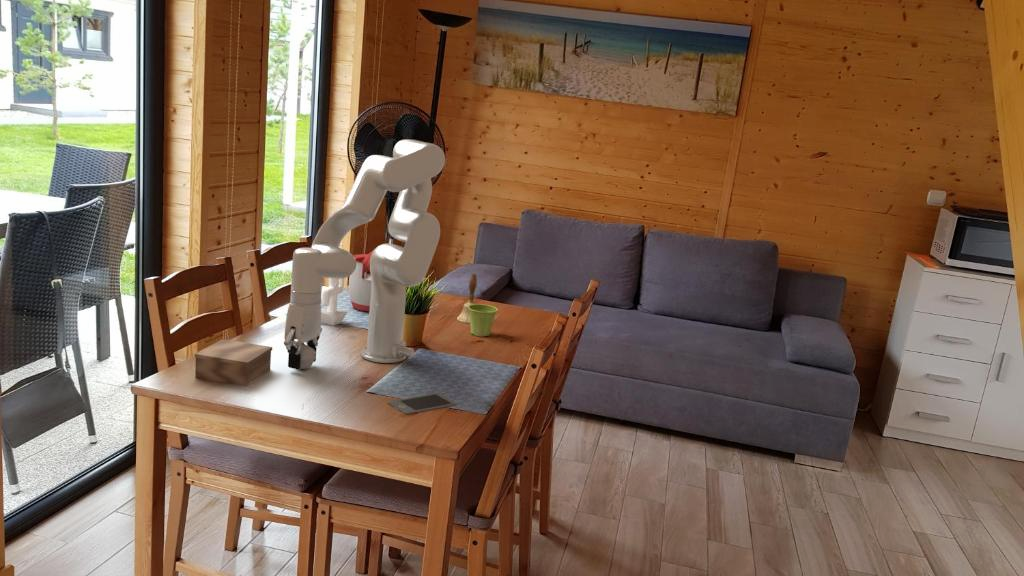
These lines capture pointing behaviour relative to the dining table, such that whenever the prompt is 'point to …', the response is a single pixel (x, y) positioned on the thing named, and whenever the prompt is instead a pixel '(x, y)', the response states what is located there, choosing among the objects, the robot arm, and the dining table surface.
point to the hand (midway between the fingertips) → (302, 363)
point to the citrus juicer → (361, 283)
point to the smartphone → (421, 403)
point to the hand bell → (465, 313)
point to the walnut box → (233, 362)
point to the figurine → (332, 303)
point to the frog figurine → (306, 356)
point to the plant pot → (481, 319)
